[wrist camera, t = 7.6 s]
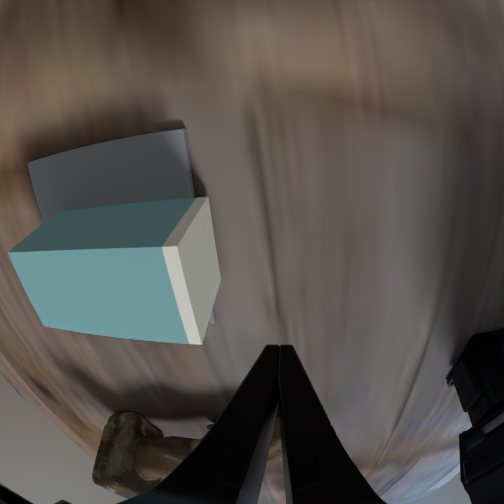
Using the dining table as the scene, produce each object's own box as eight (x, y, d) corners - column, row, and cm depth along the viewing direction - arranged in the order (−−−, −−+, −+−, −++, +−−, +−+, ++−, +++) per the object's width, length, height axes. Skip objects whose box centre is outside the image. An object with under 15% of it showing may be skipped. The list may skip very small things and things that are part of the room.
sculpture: (249, 366, 37) (320, 441, 24) (124, 454, 31) (153, 543, 18) (219, 330, 34) (293, 412, 21) (83, 428, 28) (100, 529, 15)
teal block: (176, 246, 10) (8, 252, 12) (202, 344, 13) (44, 326, 14) (208, 196, 15) (58, 212, 16) (221, 279, 17) (82, 278, 18)
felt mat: (185, 127, 13) (183, 129, 13) (216, 319, 19) (215, 323, 19) (31, 161, 15) (27, 163, 14) (82, 310, 21) (80, 313, 20)
